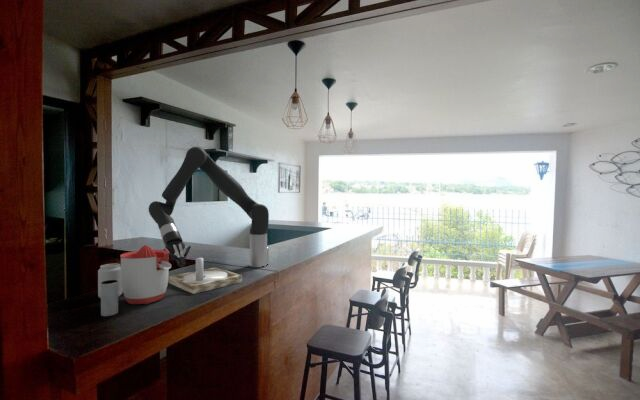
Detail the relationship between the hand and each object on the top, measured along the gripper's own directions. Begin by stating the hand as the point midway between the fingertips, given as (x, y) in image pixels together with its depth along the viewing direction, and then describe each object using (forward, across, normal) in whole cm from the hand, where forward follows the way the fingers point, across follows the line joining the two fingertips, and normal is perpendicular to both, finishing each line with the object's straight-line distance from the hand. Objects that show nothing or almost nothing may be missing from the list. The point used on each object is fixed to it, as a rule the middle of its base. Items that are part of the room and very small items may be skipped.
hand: (182, 265), depth 134 cm
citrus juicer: (+15, -19, -4) cm, 24 cm away
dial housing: (+11, +6, -1) cm, 13 cm away
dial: (+10, +6, -2) cm, 12 cm away
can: (+5, -27, +5) cm, 28 cm away
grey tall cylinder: (+18, -32, -8) cm, 38 cm away
